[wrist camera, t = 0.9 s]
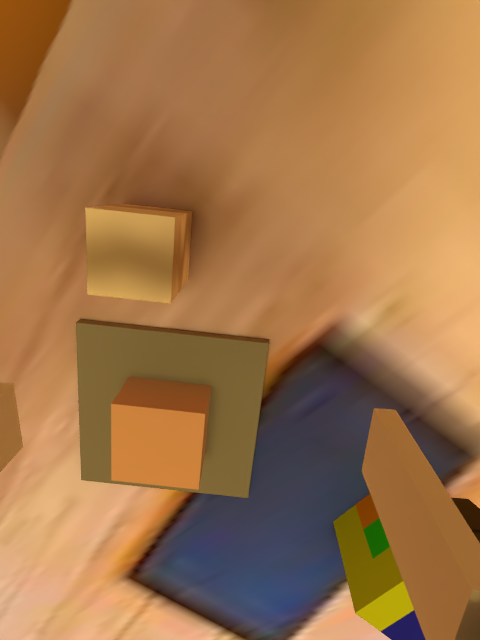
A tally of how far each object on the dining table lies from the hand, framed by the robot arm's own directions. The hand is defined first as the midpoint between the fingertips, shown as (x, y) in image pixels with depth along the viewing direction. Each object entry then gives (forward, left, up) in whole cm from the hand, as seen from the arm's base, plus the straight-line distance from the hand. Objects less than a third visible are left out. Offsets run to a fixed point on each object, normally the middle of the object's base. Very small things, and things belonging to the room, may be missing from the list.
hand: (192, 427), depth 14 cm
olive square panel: (+14, -5, -22) cm, 27 cm away
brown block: (-3, -7, -22) cm, 23 cm away
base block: (+14, -5, -21) cm, 26 cm away
